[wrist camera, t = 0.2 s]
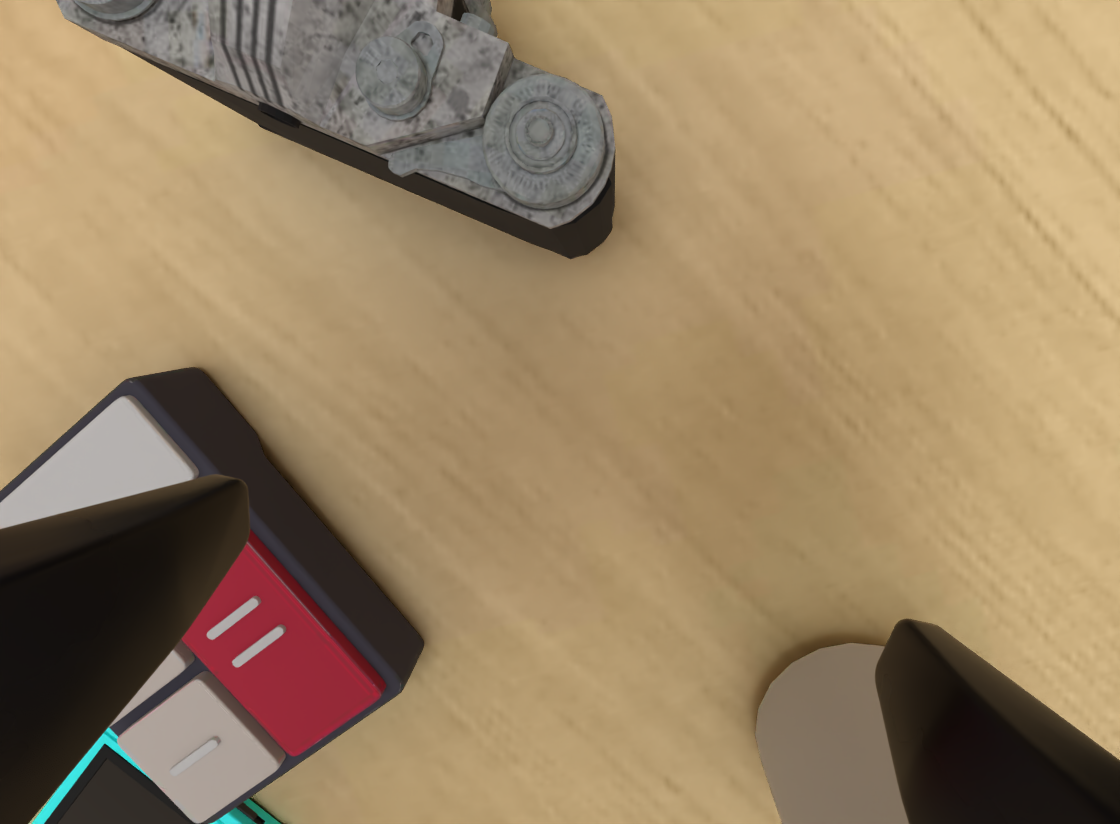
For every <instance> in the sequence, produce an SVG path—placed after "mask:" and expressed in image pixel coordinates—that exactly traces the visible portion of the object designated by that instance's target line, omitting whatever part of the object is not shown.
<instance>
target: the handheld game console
mask: <svg viewBox="0 0 1120 824" xmlns="http://www.w3.org/2000/svg"><path fill="white" fill-rule="evenodd" d="M117 739H118V736H117V735H116V734H115V733H114V732H113V731H112V730H111V729H110V728H109V727H108V728H107V730H106V731H105V732H104V733H103V734H102V736H101V737H100V738H99V739H98V740H97V742H96V743H95V744H94V745H93V746H92V748H91V749H90V750H89V751H88V752H87V754H86V755H85V756H84V757H83V758H82V760H81V761H80V762H79V763H78V764H77V766H76V767H75V768H74V769H73V770H72V772H71V773H70V774H69V775H68V776H67V778H66V779H65V780H64V781H63V782H62V784H61V785H60V786H59V788H58V789H57V790H56V792H55V793H54V794H53V796H52V797H51V798H50V800H49V801H48V802H47V804H46V805H45V806H44V808H43V809H42V810H41V812H40V813H39V814H38V816H37V817H36V818H35V820H34V821H33V822H32V824H206V823H202V822H201V823H194V822H193V821H192V820H190V819H189V818H188V817H187V816H186V815H185V814H184V813H183V812H182V810H181V809H180V808H179V807H178V806H177V805H176V804H175V803H174V802H173V801H172V800H171V799H170V798H169V797H168V796H167V795H166V794H165V793H164V792H163V791H162V790H161V789H160V788H159V787H158V786H157V785H156V784H155V783H154V782H153V781H152V780H151V779H150V778H149V777H148V775H147V774H146V773H145V772H144V771H143V770H142V769H141V768H140V767H139V766H138V765H137V764H136V763H135V762H134V761H133V760H132V759H131V758H130V757H129V756H128V755H127V754H126V753H125V752H124V751H123V750H122V749H121V747H120V746H119V745H118V743H117ZM210 824H281V823H279V822H278V821H277V820H276V819H274V818H273V817H272V816H271V815H269V814H268V813H267V812H265V811H264V810H263V809H262V808H260V807H259V806H258V805H257V804H255V803H254V802H253V801H251V800H250V799H247V800H246V801H244V802H243V803H241V804H240V805H238V806H237V807H236V808H234V809H233V810H231V811H230V812H228V813H227V814H225V815H224V816H223V817H221V818H220V819H218V820H217V821H215V822H213V823H210Z"/></svg>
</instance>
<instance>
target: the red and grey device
mask: <svg viewBox="0 0 1120 824" xmlns="http://www.w3.org/2000/svg"><path fill="white" fill-rule="evenodd" d="M213 474H218V475H223V476H228V477H233V478H237V479H241V480H243V481H244V482H245V483H246V485H247V487H248V495H249V514H250V534H249V538H248V541H247V543H246V546H245V547H244V549H243V550H242V552H241V553H240V555H239V556H238V558H237V559H236V561H235V562H234V564H233V565H232V567H231V568H230V570H229V571H228V573H227V574H226V575H225V577H224V578H223V580H222V581H221V583H220V584H219V586H218V587H217V589H216V590H215V592H214V593H213V595H212V596H211V598H210V599H209V600H208V602H207V603H206V605H205V606H204V608H203V609H202V611H201V612H200V614H199V615H198V617H197V618H196V620H195V621H194V623H193V624H192V625H191V627H190V628H189V629H188V631H187V632H186V634H185V635H184V636H183V638H182V639H181V640H180V642H179V643H178V644H177V645H176V647H175V648H174V649H173V650H172V652H171V653H170V654H169V655H168V657H167V658H166V659H165V660H164V661H163V663H162V664H161V665H160V666H159V667H158V669H157V670H156V671H155V672H154V673H153V675H152V676H151V677H150V678H149V679H148V681H147V682H146V683H145V684H144V685H143V687H142V688H141V689H140V690H139V691H138V693H137V694H136V695H135V696H134V697H133V699H132V700H131V701H130V702H129V703H128V705H127V706H126V707H125V708H124V709H123V710H122V712H121V713H120V714H119V715H118V716H117V718H116V719H115V720H114V721H113V722H112V724H111V725H110V726H109V728H110V729H111V730H112V731H113V732H114V733H115V734H116V735H117V736H118V739H117V743H118V745H119V746H120V747H121V749H122V750H123V751H124V752H125V753H126V754H127V755H128V756H129V757H130V758H131V759H132V760H133V761H134V762H135V763H136V764H137V765H138V766H139V767H140V768H141V769H142V770H143V771H144V772H145V773H146V774H147V775H148V777H149V778H150V779H151V780H152V781H153V782H154V783H155V784H156V785H157V786H158V787H159V788H160V789H161V790H162V791H163V792H164V793H165V794H166V795H167V796H168V797H169V798H170V799H171V800H172V801H173V802H174V803H175V804H176V805H177V806H178V807H179V808H180V809H181V810H182V812H183V813H184V814H185V815H186V816H187V817H188V818H189V819H190V820H192V821H193V822H194V823H201V822H202V823H206V824H210V823H213V822H215V821H217V820H218V819H220V818H221V817H223V816H224V815H225V814H227V813H228V812H230V811H231V810H233V809H234V808H236V807H237V806H238V805H240V804H241V803H243V802H244V801H246V800H247V799H249V798H250V797H251V796H253V795H254V794H256V793H257V792H259V791H260V790H262V789H263V788H264V787H266V786H267V785H269V784H270V783H272V782H273V781H275V780H276V779H277V778H279V777H280V776H282V775H283V774H285V773H286V772H288V771H289V770H290V769H292V768H293V767H295V766H296V765H298V764H299V763H300V762H302V761H303V760H305V759H306V758H308V757H309V756H311V755H312V754H313V753H315V752H316V751H318V750H319V749H321V748H322V747H324V746H325V745H326V744H328V743H329V742H331V741H332V740H334V739H335V738H337V737H338V736H339V735H341V734H342V733H344V732H345V731H347V730H348V729H350V728H351V727H352V726H354V725H355V724H357V723H358V722H360V721H361V720H363V719H364V718H365V717H367V716H368V715H370V714H371V713H373V712H374V711H376V710H377V709H378V708H380V707H381V706H383V705H384V704H386V703H387V702H388V701H390V700H391V699H393V698H394V697H396V696H397V695H398V694H400V693H401V692H402V690H403V689H404V687H405V685H406V683H407V681H408V679H409V677H410V675H411V673H412V671H413V669H414V667H415V664H416V662H417V660H418V658H419V656H420V654H421V652H422V650H423V647H424V642H423V640H422V638H421V637H420V635H419V634H418V633H417V632H416V631H415V630H414V628H413V627H412V626H411V625H410V624H409V623H408V622H407V620H406V619H405V618H404V617H403V616H402V615H401V613H400V612H399V611H398V610H397V609H396V608H395V606H394V605H393V604H392V603H391V602H390V601H389V600H388V598H387V597H386V596H385V595H384V594H383V593H382V591H381V590H380V589H379V588H378V587H377V586H376V584H375V583H374V582H373V581H372V580H371V579H370V578H369V576H368V575H367V574H366V573H365V572H364V571H363V569H362V568H361V567H360V566H359V565H358V564H357V562H356V561H355V560H354V559H353V558H352V557H351V556H350V554H349V553H348V552H347V551H346V550H345V549H344V547H343V546H342V545H341V544H340V543H339V542H338V541H337V539H336V538H335V537H334V536H333V535H332V534H331V532H330V531H329V530H328V529H327V528H326V527H325V525H324V524H323V523H322V522H321V521H320V520H319V519H318V517H317V516H316V515H315V514H314V513H313V512H312V510H311V509H310V508H309V507H308V506H307V505H306V503H305V502H304V501H303V500H302V499H301V498H300V497H299V495H298V494H297V493H296V492H295V491H294V490H293V488H292V487H291V486H290V485H289V484H288V483H287V481H286V480H285V479H284V478H283V477H282V476H281V475H280V473H279V472H278V471H277V470H276V469H275V468H274V466H273V465H272V464H271V463H270V462H269V461H268V459H267V458H266V457H265V456H264V453H263V451H262V448H261V445H260V442H259V439H258V436H257V434H256V433H255V431H254V430H253V429H252V428H251V427H250V426H249V424H248V423H247V422H246V421H245V420H244V419H243V417H242V416H241V415H240V414H239V413H238V412H237V410H236V409H235V408H234V407H233V406H232V405H231V404H230V402H229V401H228V400H227V399H226V398H225V397H224V395H223V394H222V393H221V392H220V391H219V390H218V388H217V387H216V386H215V385H214V384H213V383H212V381H211V380H210V379H209V378H208V377H207V376H206V375H205V373H204V372H203V371H201V370H200V369H198V368H195V367H191V368H184V369H178V370H172V371H167V372H161V373H155V374H150V375H144V376H138V377H133V378H129V379H126V380H124V381H123V382H122V383H120V384H119V385H118V386H117V387H116V388H115V389H114V390H113V391H111V392H110V393H109V394H108V395H107V396H106V397H105V398H104V399H102V400H101V401H100V402H99V403H98V404H97V405H96V406H95V407H94V408H92V409H91V410H90V411H89V412H88V413H87V414H86V415H85V416H84V417H82V418H81V419H80V420H79V421H78V422H77V423H76V424H75V425H73V426H72V427H71V428H70V429H69V430H68V431H67V432H66V433H65V434H63V435H62V436H61V437H60V438H59V439H58V440H57V441H56V442H55V443H53V444H52V445H51V446H50V447H49V448H48V449H47V450H46V451H44V452H43V453H42V454H41V455H40V456H39V457H38V458H37V459H36V460H34V461H33V462H32V463H31V464H30V465H29V466H28V467H27V468H26V469H24V470H23V471H22V472H21V473H20V474H19V475H18V476H17V477H15V478H14V479H13V480H12V481H11V482H10V483H9V484H8V485H7V486H5V487H4V488H3V489H2V490H1V491H0V529H2V528H5V527H9V526H13V525H17V524H21V523H25V522H29V521H33V520H37V519H41V518H45V517H48V516H52V515H56V514H60V513H64V512H68V511H72V510H76V509H80V508H84V507H88V506H91V505H95V504H99V503H103V502H107V501H111V500H115V499H119V498H123V497H127V496H130V495H134V494H138V493H142V492H146V491H150V490H154V489H158V488H162V487H166V486H170V485H173V484H177V483H181V482H185V481H189V480H193V479H197V478H201V477H205V476H209V475H213Z"/></svg>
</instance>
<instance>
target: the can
mask: <svg viewBox="0 0 1120 824" xmlns="http://www.w3.org/2000/svg"><path fill="white" fill-rule="evenodd" d="M884 648H885V647H884V646H878V645H868V644H858V643H847V644H842V645H837V646H831V647H826V648H820V649H818V650H816V651H814V652H812V653H810V654H808V655H806V656H804V657H802V658H800V659H798V660H796V661H794V662H792V663H791V664H790V665H789V666H788V667H787V668H786V669H785V670H784V671H783V672H782V673H781V674H780V675H779V676H778V677H777V678H776V679H775V680H774V681H773V682H772V683H771V684H770V686H769V688H768V690H767V692H766V694H765V696H764V698H763V700H762V702H761V704H760V706H759V708H758V715H757V723H756V732H755V737H756V742H757V746H758V750H759V754H760V758H761V762H762V765H763V768H764V771H765V774H766V777H767V780H768V783H769V786H770V789H771V792H772V795H773V798H774V801H775V804H776V807H777V810H778V813H779V816H780V819H781V822H782V824H909V823H908V819H907V816H906V813H905V809H904V806H903V803H902V799H901V795H900V791H899V787H898V783H897V779H896V775H895V770H894V766H893V761H892V757H891V752H890V748H889V743H888V739H887V734H886V730H885V725H884V720H883V716H882V711H881V707H880V702H879V698H878V693H877V689H876V684H875V669H876V665H877V662H878V660H879V658H880V656H881V654H882V652H883V650H884Z"/></svg>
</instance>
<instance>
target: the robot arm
mask: <svg viewBox="0 0 1120 824" xmlns="http://www.w3.org/2000/svg"><path fill="white" fill-rule="evenodd" d="M249 534H250V514H249V495H248V487H247V485H246V483H245V482H244V481H243V480H241V479H237V478H233V477H228V476H223V475H218V474H213V475H209V476H205V477H201V478H197V479H193V480H189V481H185V482H181V483H177V484H173V485H170V486H166V487H162V488H158V489H154V490H150V491H146V492H142V493H138V494H134V495H130V496H127V497H123V498H119V499H115V500H111V501H107V502H103V503H99V504H95V505H91V506H88V507H84V508H80V509H76V510H72V511H68V512H64V513H60V514H56V515H52V516H48V517H45V518H41V519H37V520H33V521H29V522H25V523H21V524H17V525H13V526H9V527H5V528H2V529H0V824H28V823H29V822H30V821H31V820H32V818H33V817H34V816H35V815H36V814H37V812H38V811H39V810H40V809H41V808H42V806H43V805H44V804H45V803H46V802H47V800H48V799H49V798H50V797H51V796H52V794H53V793H54V792H55V791H56V790H57V788H58V787H59V786H60V785H61V784H62V782H63V781H64V780H65V779H66V778H67V776H68V775H69V774H70V773H71V772H72V770H73V769H74V768H75V767H76V766H77V764H78V763H79V762H80V761H81V760H82V758H83V757H84V756H85V755H86V754H87V752H88V751H89V750H90V749H91V748H92V746H93V745H94V744H95V743H96V742H97V740H98V739H99V738H100V737H101V736H102V734H103V733H104V732H105V731H106V730H107V728H108V727H109V726H110V725H111V724H112V722H113V721H114V720H115V719H116V718H117V716H118V715H119V714H120V713H121V712H122V710H123V709H124V708H125V707H126V706H127V705H128V703H129V702H130V701H131V700H132V699H133V697H134V696H135V695H136V694H137V693H138V691H139V690H140V689H141V688H142V687H143V685H144V684H145V683H146V682H147V681H148V679H149V678H150V677H151V676H152V675H153V673H154V672H155V671H156V670H157V669H158V667H159V666H160V665H161V664H162V663H163V661H164V660H165V659H166V658H167V657H168V655H169V654H170V653H171V652H172V650H173V649H174V648H175V647H176V645H177V644H178V643H179V642H180V640H181V639H182V638H183V636H184V635H185V634H186V632H187V631H188V629H189V628H190V627H191V625H192V624H193V623H194V621H195V620H196V618H197V617H198V615H199V614H200V612H201V611H202V609H203V608H204V606H205V605H206V603H207V602H208V600H209V599H210V598H211V596H212V595H213V593H214V592H215V590H216V589H217V587H218V586H219V584H220V583H221V581H222V580H223V578H224V577H225V575H226V574H227V573H228V571H229V570H230V568H231V567H232V565H233V564H234V562H235V561H236V559H237V558H238V556H239V555H240V553H241V552H242V550H243V549H244V547H245V546H246V543H247V541H248V538H249ZM875 684H876V689H877V693H878V698H879V702H880V707H881V711H882V716H883V720H884V725H885V730H886V734H887V739H888V743H889V748H890V752H891V757H892V761H893V766H894V770H895V775H896V779H897V783H898V787H899V791H900V795H901V799H902V803H903V806H904V809H905V813H906V816H907V819H908V823H909V824H1120V760H1119V759H1117V758H1116V757H1115V756H1113V755H1112V754H1111V753H1109V752H1108V751H1106V750H1105V749H1104V748H1102V747H1101V746H1100V745H1098V744H1097V743H1096V742H1094V741H1093V740H1092V739H1090V738H1089V737H1088V736H1086V735H1085V734H1084V733H1082V732H1081V731H1079V730H1078V729H1077V728H1075V727H1074V726H1073V725H1071V724H1070V723H1069V722H1067V721H1066V720H1065V719H1063V718H1062V717H1061V716H1059V715H1058V714H1056V713H1055V712H1054V711H1052V710H1051V709H1050V708H1048V707H1047V706H1046V705H1044V704H1043V703H1042V702H1040V701H1039V700H1038V699H1036V698H1035V697H1034V696H1032V695H1031V694H1029V693H1028V692H1027V691H1025V690H1024V689H1023V688H1021V687H1020V686H1019V685H1017V684H1016V683H1015V682H1013V681H1012V680H1011V679H1009V678H1008V677H1006V676H1005V675H1004V674H1002V673H1001V672H1000V671H998V670H997V669H996V668H994V667H993V666H992V665H990V664H989V663H988V662H986V661H985V660H984V659H982V658H981V657H979V656H978V655H977V654H975V653H974V652H973V651H971V650H970V649H969V648H967V647H966V646H965V645H963V644H962V643H961V642H959V641H958V640H956V639H955V638H954V637H952V636H951V635H950V634H948V633H947V632H946V631H944V630H943V629H942V628H940V627H939V626H937V625H934V624H931V623H926V622H922V621H917V620H912V619H903V620H900V621H899V622H898V623H897V624H896V626H895V627H894V629H893V631H892V633H891V635H890V637H889V639H888V641H887V643H886V646H885V648H884V650H883V652H882V654H881V656H880V658H879V660H878V662H877V665H876V669H875Z"/></svg>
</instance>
